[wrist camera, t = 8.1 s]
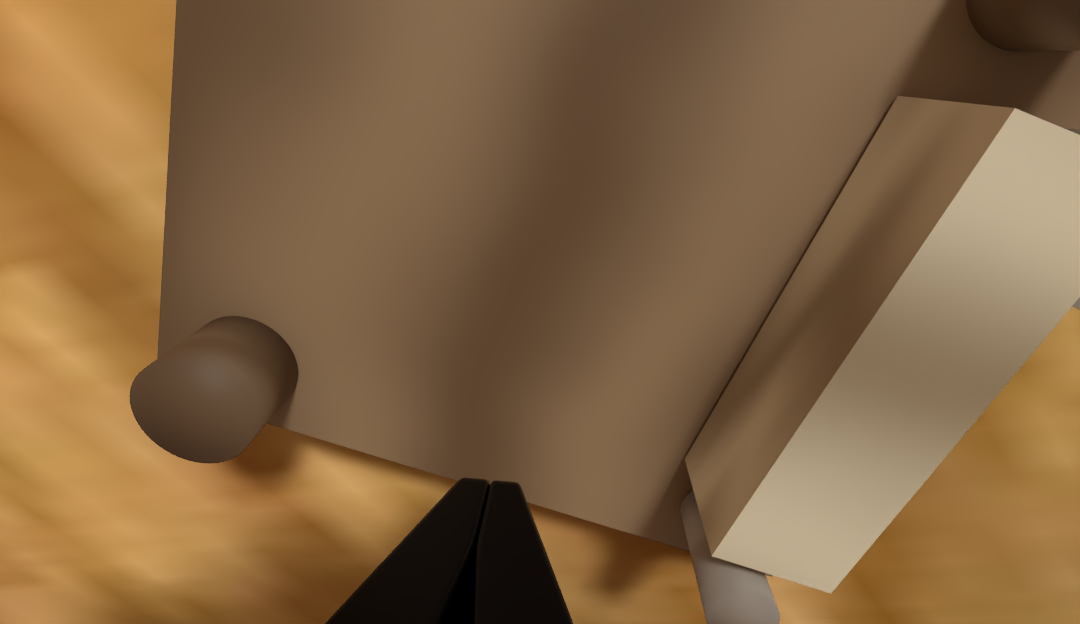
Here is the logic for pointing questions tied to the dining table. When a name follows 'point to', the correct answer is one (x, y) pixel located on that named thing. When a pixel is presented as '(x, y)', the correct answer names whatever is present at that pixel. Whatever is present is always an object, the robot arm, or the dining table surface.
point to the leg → (891, 335)
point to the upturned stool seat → (530, 222)
